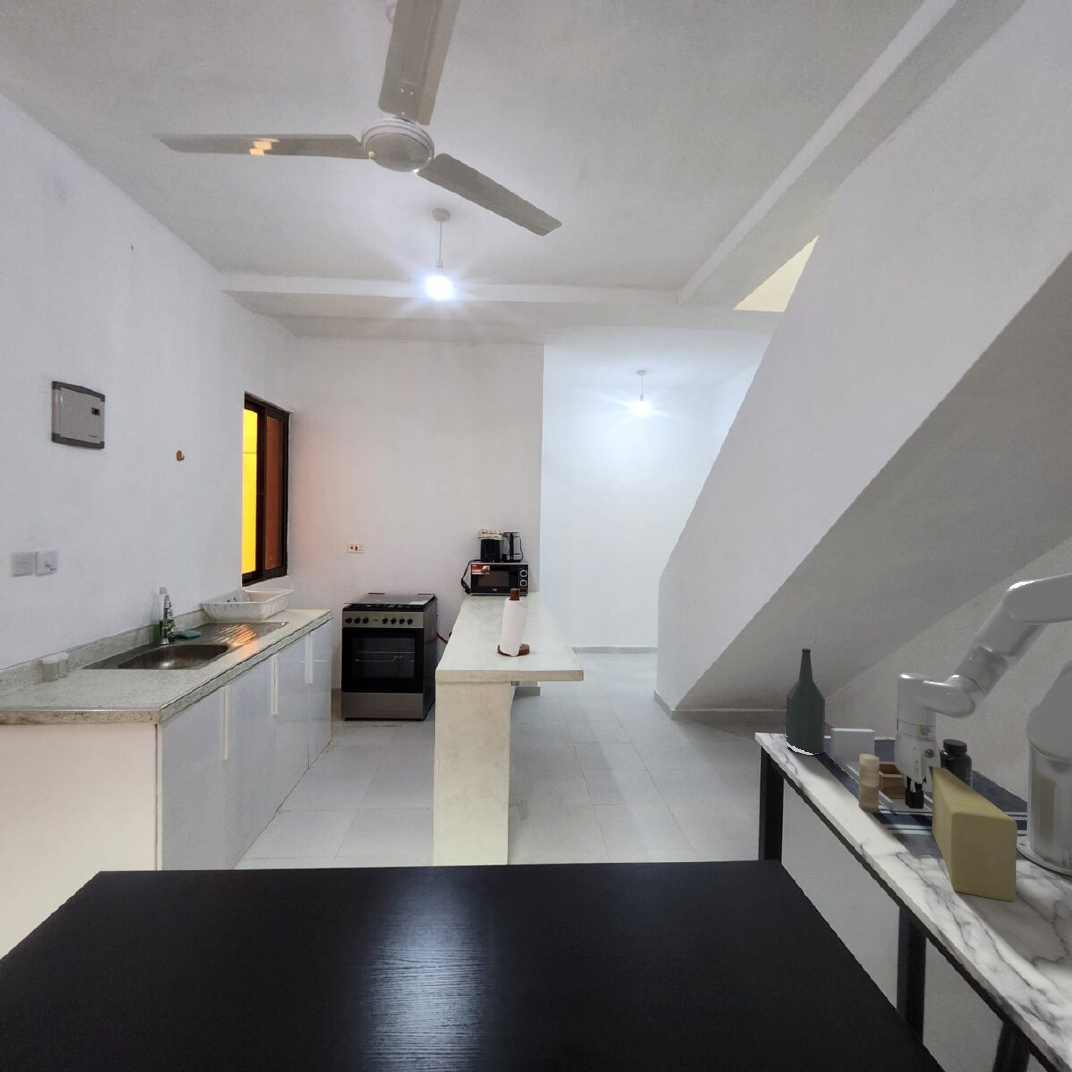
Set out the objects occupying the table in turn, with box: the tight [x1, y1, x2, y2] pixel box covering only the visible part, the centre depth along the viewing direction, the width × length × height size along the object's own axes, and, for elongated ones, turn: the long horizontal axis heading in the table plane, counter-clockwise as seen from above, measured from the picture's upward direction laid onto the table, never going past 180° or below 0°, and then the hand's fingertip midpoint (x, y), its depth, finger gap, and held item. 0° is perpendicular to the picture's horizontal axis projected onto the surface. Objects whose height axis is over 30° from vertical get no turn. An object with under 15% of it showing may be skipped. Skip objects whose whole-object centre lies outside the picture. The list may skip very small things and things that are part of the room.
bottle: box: [785, 648, 826, 754], centre depth 161 cm, size 10×10×30 cm
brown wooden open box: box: [879, 760, 906, 798], centre depth 135 cm, size 9×8×5 cm
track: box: [829, 727, 933, 813], centre depth 140 cm, size 28×11×9 cm, turn 177°
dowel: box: [858, 754, 880, 813], centre depth 127 cm, size 4×4×12 cm
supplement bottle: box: [939, 738, 973, 789], centre depth 137 cm, size 7×7×12 cm
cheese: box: [931, 767, 1018, 902], centre depth 107 cm, size 22×10×15 cm, turn 162°
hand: (914, 806), depth 126 cm, fingers closed
